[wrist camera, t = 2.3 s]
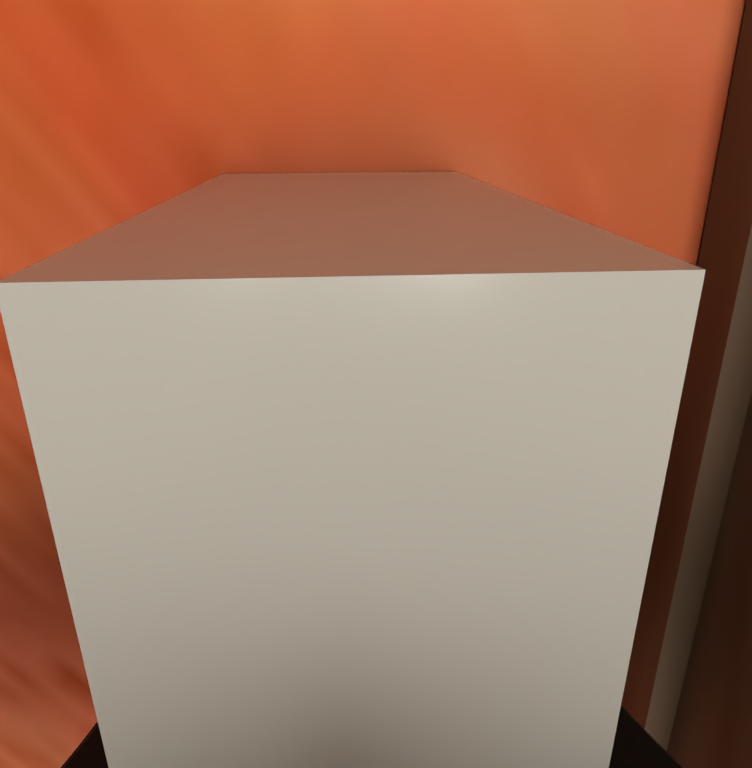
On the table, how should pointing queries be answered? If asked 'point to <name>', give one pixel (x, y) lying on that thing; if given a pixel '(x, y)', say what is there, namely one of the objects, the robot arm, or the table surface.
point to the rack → (708, 493)
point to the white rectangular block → (353, 468)
